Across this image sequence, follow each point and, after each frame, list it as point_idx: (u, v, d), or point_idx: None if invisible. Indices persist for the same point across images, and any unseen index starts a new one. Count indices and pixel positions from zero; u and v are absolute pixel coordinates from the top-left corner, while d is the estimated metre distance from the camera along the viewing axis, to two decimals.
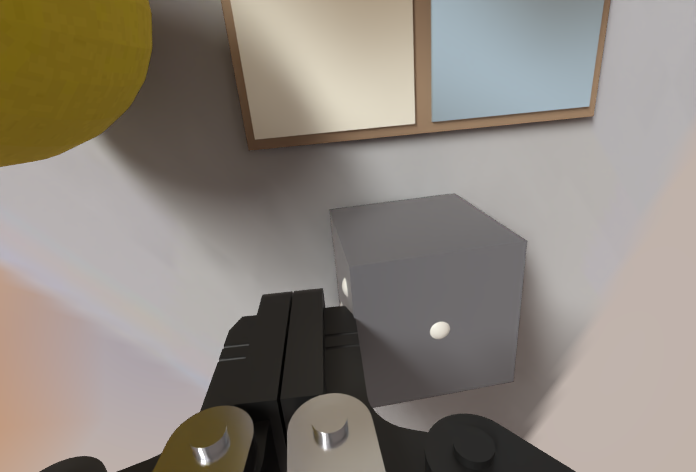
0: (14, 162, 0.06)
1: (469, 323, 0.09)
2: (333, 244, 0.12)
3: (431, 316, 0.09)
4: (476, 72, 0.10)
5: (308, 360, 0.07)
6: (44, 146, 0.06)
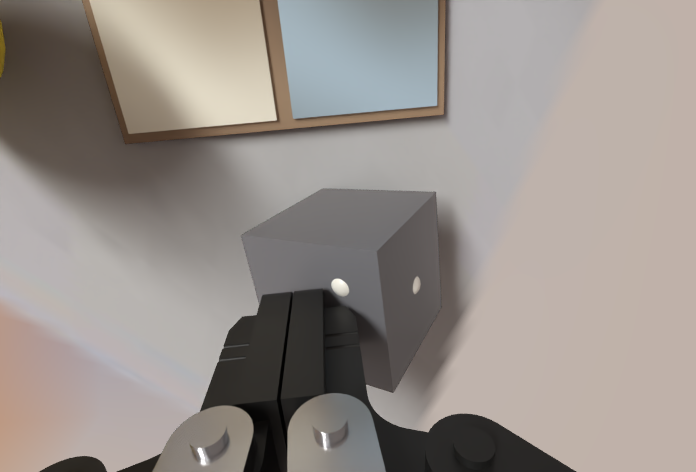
0: None
1: (425, 270, 0.11)
2: (254, 272, 0.11)
3: (412, 275, 0.10)
4: (328, 73, 0.12)
5: (308, 360, 0.07)
6: None
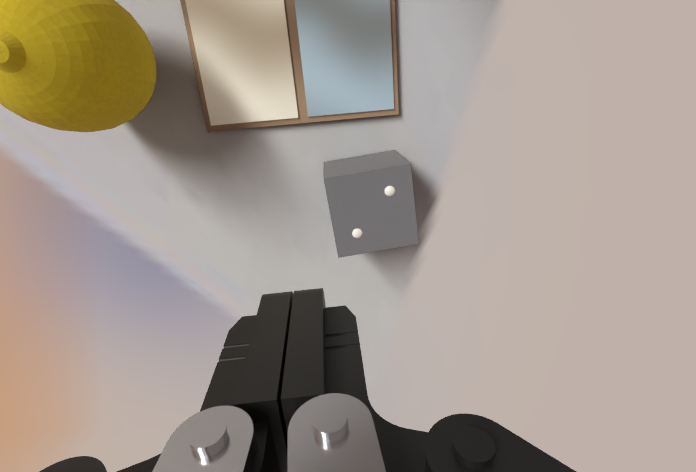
0: (99, 128, 0.16)
1: None
2: (331, 201, 0.18)
3: None
4: (328, 90, 0.20)
5: (308, 360, 0.07)
6: (112, 122, 0.15)
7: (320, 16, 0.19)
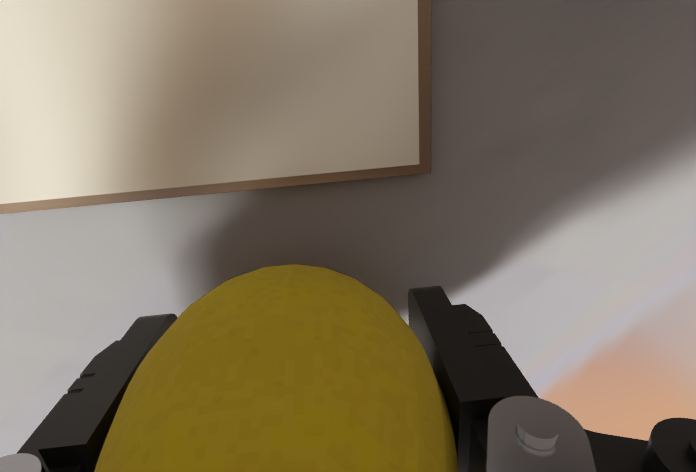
0: (452, 432, 0.06)
1: None
2: None
3: None
4: None
5: (468, 360, 0.07)
6: (440, 406, 0.06)
7: None
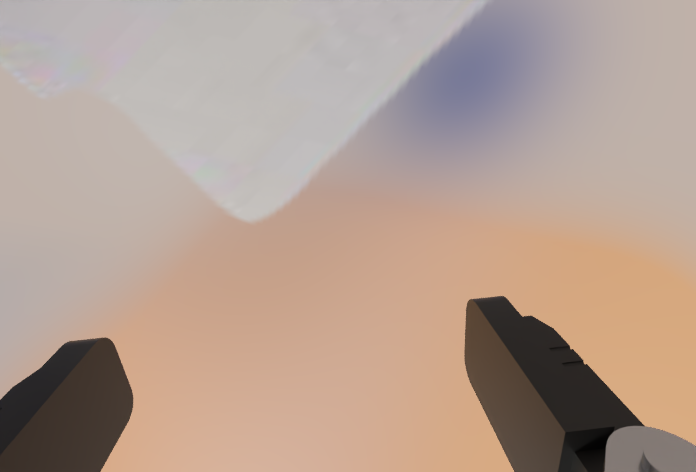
0: None
1: None
2: None
3: None
4: None
5: (560, 382, 0.06)
6: None
7: None
